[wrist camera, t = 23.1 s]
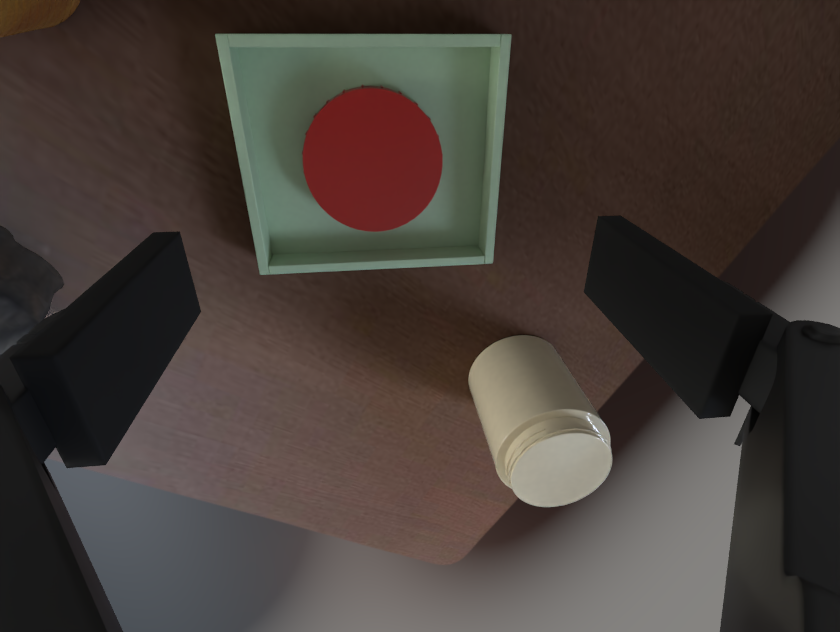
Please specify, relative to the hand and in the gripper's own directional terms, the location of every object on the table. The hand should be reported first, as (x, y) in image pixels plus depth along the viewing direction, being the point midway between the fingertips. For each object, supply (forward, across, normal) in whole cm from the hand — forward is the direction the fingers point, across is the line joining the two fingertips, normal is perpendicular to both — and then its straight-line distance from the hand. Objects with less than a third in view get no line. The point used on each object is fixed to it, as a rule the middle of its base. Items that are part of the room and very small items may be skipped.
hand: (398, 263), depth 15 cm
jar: (+17, +10, -18) cm, 27 cm away
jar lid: (+15, 0, 0) cm, 15 cm away
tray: (+17, 0, 0) cm, 17 cm away
